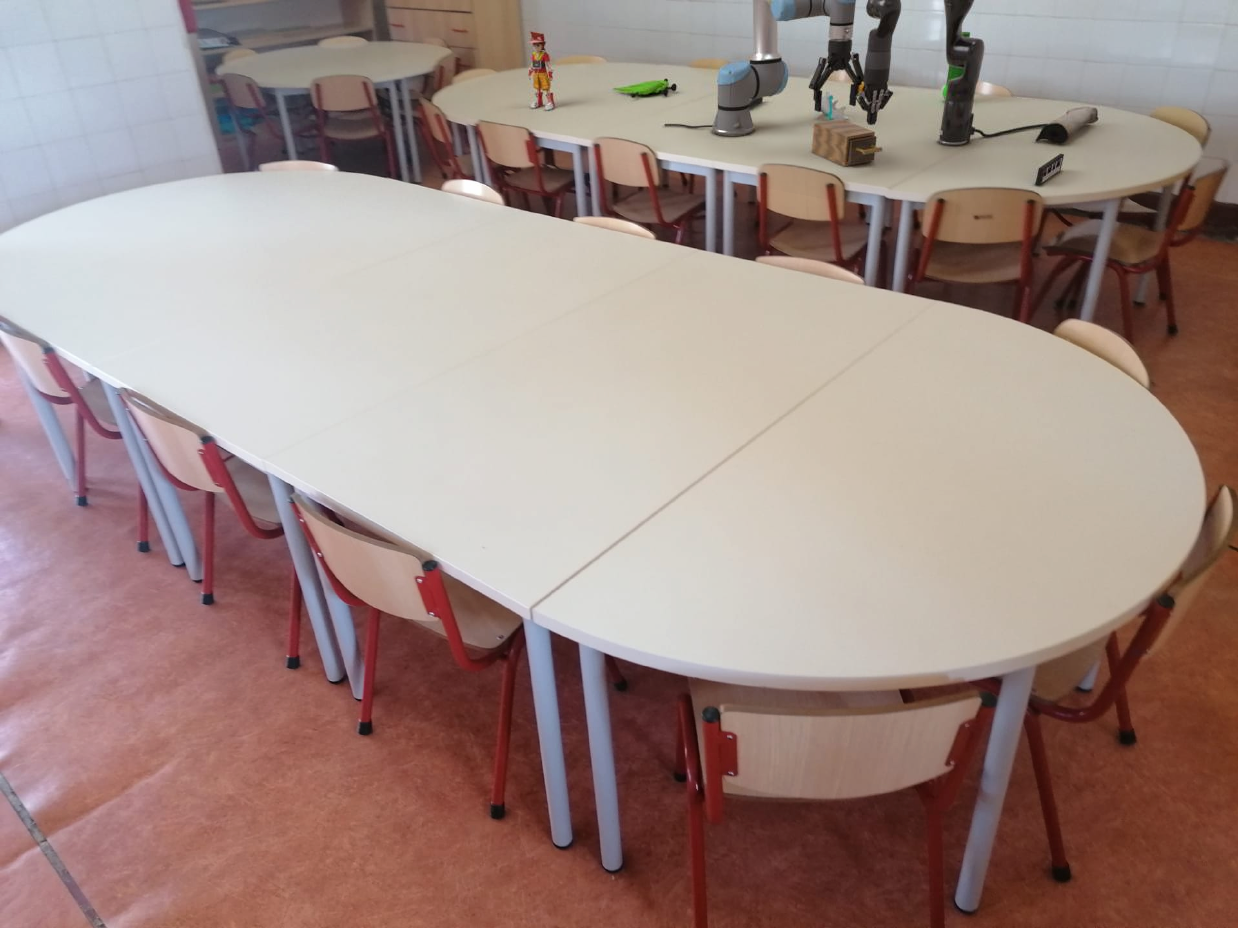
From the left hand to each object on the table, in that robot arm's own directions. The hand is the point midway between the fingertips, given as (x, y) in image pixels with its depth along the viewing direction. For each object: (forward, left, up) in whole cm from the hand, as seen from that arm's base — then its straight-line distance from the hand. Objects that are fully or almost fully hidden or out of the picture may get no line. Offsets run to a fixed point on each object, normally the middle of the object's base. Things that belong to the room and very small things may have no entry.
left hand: (835, 108), depth 300 cm
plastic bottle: (+22, +81, -15) cm, 85 cm away
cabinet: (+5, -4, -15) cm, 16 cm away
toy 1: (-136, +21, -15) cm, 138 cm away
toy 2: (-108, +59, -15) cm, 124 cm away
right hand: (+16, -13, -1) cm, 21 cm away
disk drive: (-55, +50, -15) cm, 76 cm away
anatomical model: (-15, +42, -15) cm, 47 cm away
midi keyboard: (+70, -4, -15) cm, 72 cm away
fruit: (-14, +82, -15) cm, 85 cm away
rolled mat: (+68, +48, -15) cm, 84 cm away
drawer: (+9, -7, -14) cm, 18 cm away
